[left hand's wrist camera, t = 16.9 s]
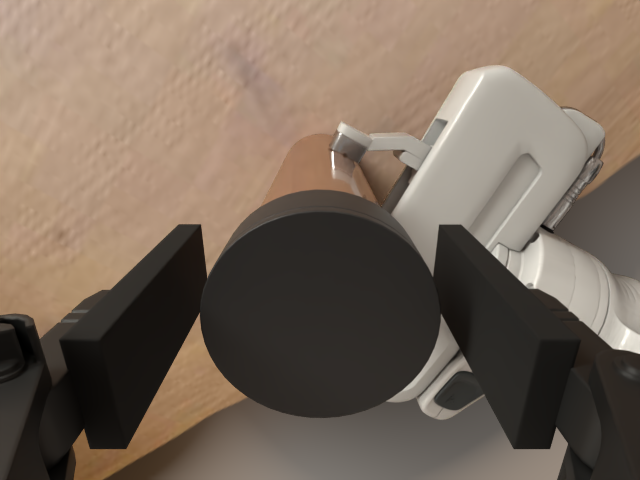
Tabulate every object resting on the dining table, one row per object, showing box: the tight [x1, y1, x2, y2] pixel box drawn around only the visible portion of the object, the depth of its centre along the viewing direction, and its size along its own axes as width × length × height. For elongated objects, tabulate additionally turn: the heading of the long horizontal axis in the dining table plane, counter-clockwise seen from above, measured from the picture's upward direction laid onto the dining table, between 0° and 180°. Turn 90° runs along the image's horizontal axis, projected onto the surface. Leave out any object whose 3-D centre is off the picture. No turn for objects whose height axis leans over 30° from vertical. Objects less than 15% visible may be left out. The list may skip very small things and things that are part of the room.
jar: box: [261, 134, 380, 206], centre depth 19 cm, size 5×5×19 cm
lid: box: [200, 189, 441, 418], centre depth 11 cm, size 6×6×2 cm
